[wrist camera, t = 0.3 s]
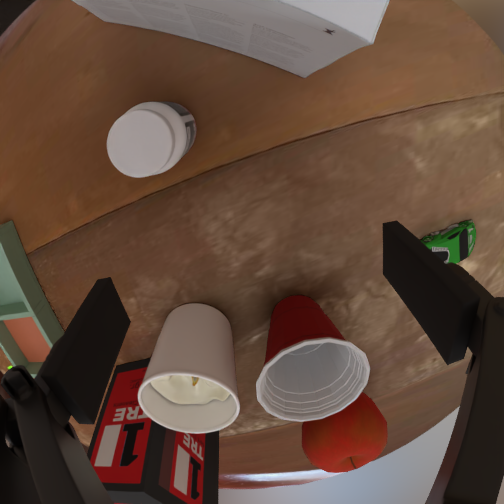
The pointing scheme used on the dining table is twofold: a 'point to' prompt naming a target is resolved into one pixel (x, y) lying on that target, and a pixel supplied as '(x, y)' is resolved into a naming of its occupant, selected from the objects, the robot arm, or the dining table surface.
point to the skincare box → (258, 26)
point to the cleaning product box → (149, 450)
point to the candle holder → (192, 372)
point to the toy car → (452, 242)
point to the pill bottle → (150, 138)
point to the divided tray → (23, 307)
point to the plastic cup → (308, 364)
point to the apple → (346, 437)
